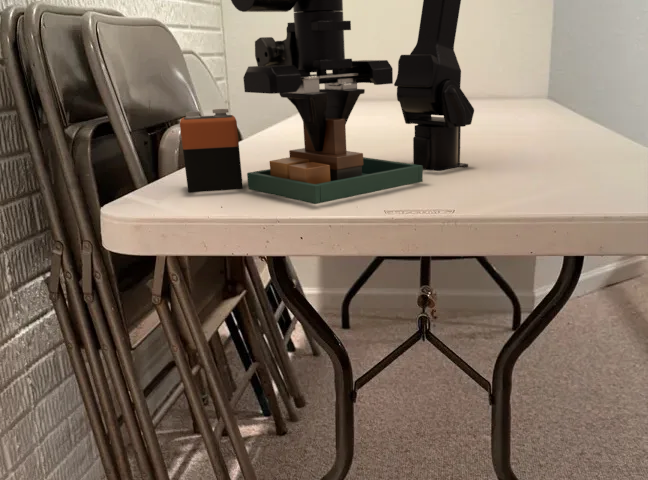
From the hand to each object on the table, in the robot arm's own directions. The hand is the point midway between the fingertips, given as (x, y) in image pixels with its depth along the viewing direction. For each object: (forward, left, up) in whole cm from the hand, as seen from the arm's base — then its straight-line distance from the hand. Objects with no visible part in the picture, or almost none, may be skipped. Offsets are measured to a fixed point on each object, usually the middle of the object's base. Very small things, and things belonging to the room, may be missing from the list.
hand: (325, 150), depth 89 cm
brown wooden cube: (+6, -2, -3) cm, 7 cm away
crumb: (+5, +2, -4) cm, 7 cm away
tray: (-1, 0, -5) cm, 5 cm away
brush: (0, 0, -4) cm, 4 cm away
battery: (+10, -11, -5) cm, 15 cm away
